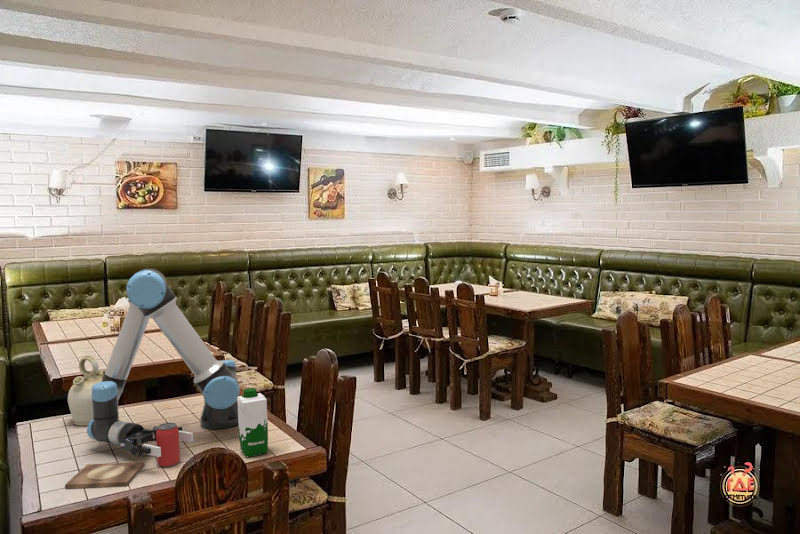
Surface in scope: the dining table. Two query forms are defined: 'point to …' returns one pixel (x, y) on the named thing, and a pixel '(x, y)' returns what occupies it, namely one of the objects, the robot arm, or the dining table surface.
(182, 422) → the dining table surface
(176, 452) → the beer can
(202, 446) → the dining table surface
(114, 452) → the dining table surface
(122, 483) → the serving board
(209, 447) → the dining table surface
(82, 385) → the jug
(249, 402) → the milk carton
